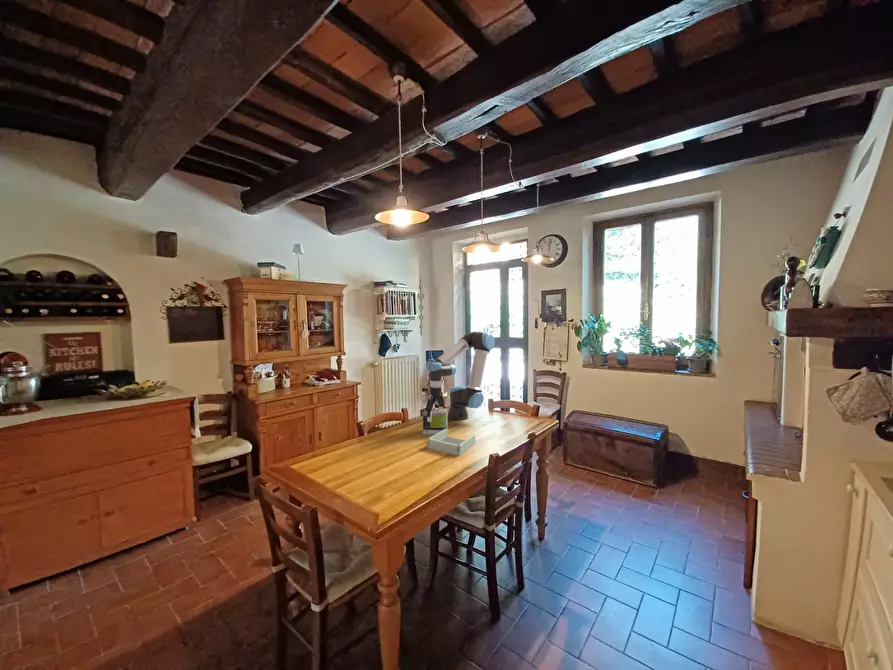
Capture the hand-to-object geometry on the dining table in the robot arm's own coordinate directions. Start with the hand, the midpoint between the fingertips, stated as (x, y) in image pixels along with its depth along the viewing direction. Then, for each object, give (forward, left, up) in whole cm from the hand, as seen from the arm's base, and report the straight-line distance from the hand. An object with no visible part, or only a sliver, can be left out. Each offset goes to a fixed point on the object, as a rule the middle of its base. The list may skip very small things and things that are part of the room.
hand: (435, 419), depth 236 cm
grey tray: (+14, +20, -9) cm, 26 cm away
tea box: (0, 0, -10) cm, 10 cm away
